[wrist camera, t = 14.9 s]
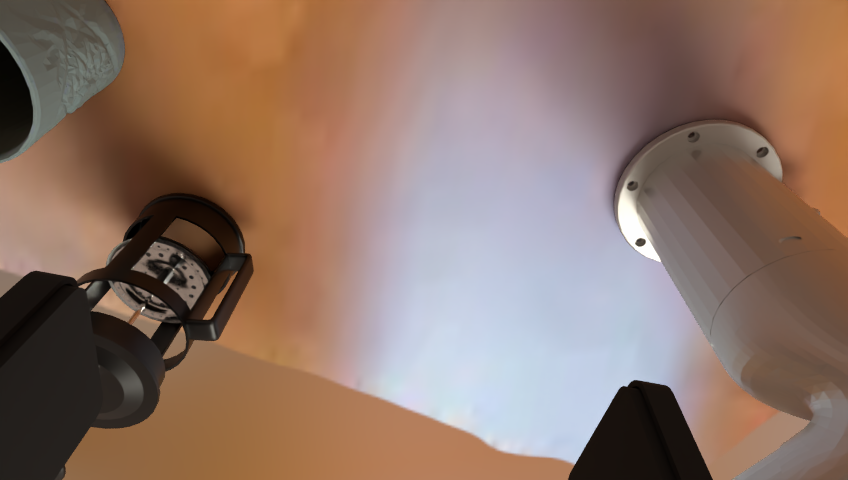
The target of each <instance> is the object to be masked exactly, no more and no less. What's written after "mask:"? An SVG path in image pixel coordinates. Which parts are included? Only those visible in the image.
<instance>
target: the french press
mask: <svg viewBox="0 0 848 480" xmlns="http://www.w3.org/2000/svg"><path fill="white" fill-rule="evenodd" d="M176 218H179V219H183V220H186V221H189V222H191V223H193V224H195V225H197V226H199V227H200V228H202V229H203V230H205V231H206V232H207V233H208V234H210V235H211V236H212V237H213V238H214V239H215V240H216V242H217V243H218V244H219V245H220V246H221V248H222V250H223V252H224V254H225V256H224V257H223V259H222V261H221V262H220V264H219V265H218V267H217V269H216V270H214V271H211V272H210V270H209V268H208V267H207V265H206V264H205V263H204V262H203V260H202V259H201V258H200V257H199V256H198V255H196V254H195V253H194V252H193V251H192V250H190V249H189V248H187V247H186V246H184V245H182V244H180V243H178V242H176V241H174V240H172V239H169V238H166V237H162V236H161V235H162V234H163V233H164V232H165V230H166V229H167V228H168V227H169V226H170V225H171V223H172V222H173V221H174V220H175V219H176ZM236 271H238V273H237V275H236V277H235V279H234V280H233V282H232V284H231V286H230V287H229V289H228V291H227V293H226V294H225V296H224V298H223V300H222V302H221V303H220V305H219V307H218V309H217V310H216V312H215V314H214V316H213V317H212V318H211V319H210V320H202V319H203V318H204V316H205V314H206V313H207V311H208V309H209V308H210V306H211V304H212V302H213V301H214V299H215V297H216V295H217V294H219V293H220V292H221V291H222V290H223V289H224V288H225V287H226V285H227V283H228V281H229V280H230V278H231V276H232V275H234V274H235V272H236ZM253 271H254V269H253V263H252V257H251V255H250V254H247V253H245V242H244V239H243V235H242V233H241V231H240V229H239V227H238V225H237V224H236V222H235V221H234V220H233V218H232V217H231V216H230V215H229V214H228V213H227V212H226V211H225V210H224V209H222V208H221V207H219V206H218V205H216V204H215V203H213V202H211V201H209V200H207V199H205V198H202V197H199V196H195V195H191V194H184V193H175V194H168V195H164V196H160V197H158V198H156V199H154V200H152V201H151V202H150V203H149V204H148V205H146V206H145V208H144V209H143V210H142V212H141V213H140V215H139V218H138V219H137V220H136V221H135V222H134V223H133V224H132V225H131V226H130V227H129V229H128V230H127V232H126V233H125V236H124V239H123V242H122V243H120V244H119V245H117V246H116V247H115V248H114V249H113V250H112V251H111V253H110V254H109V256H108V259H107V262H106V267H105V268H101V269H96V270H93V271H91V272H89V273H86V274H84V275H83V276H82V277H81V278H80V279H78V280H77V284H78V286H80V285H83V284H85V283H89V282H91V283H90V284H89V285H88V287H87V288H86V289H85V291H86V293H87V298H88V304H89V310H90V316H91V322H92V329H93V335H94V341H95V347H96V353H97V360H98V366H99V372H100V378H101V384H102V391H103V403H102V407H101V410H100V412H99V414H98V416H97V418H96V419H95V421H94V422H93V424H92V425H91V427H97V428H105V429H106V428H124V427H130V426H132V425H135V424H138V423H140V422H142V421H144V420H145V419H147V418H148V417H149V416H150V415H151V414H152V413H153V412H154V410H155V408H156V406H157V404H158V402H159V396H160V389H159V388H160V386H161V384H162V382H163V380H164V378H165V372H166V371H168V370H171V369H172V368H174V367H176V366H177V365H178V364H179V363H180V362H181V361H182V360H183V359H184V358H185V356H186V354H187V353H188V351H189V349H190V347H191V345H192V344H193V341H194V340H204V341H216V340H218V339H219V337H220V335H221V334H222V332H223V330H224V328H225V326H226V324H227V322H228V320H229V318H230V316H231V314H232V312H233V311H234V309H235V307H236V305H237V303H238V301H239V299H240V297H241V295H242V293H243V291H244V290H245V288H246V286H247V284H248V282H249V280H250V278H251V276H252V274H253ZM110 288H112V289H113V291H114V292H115V293H116V295H117V296H118V297H119V298H120V299H121V300H122V301H123V302H124V303H125V304H126V305H127V306H129V307H130V308H131V309H132V310H134V311H135V313H134V314H133V315H132V316H131V318H130V319H129V321H128V322H125V321H123V320H120V319H119V318H116V317H114V316H111V315H107V314H104V313H100V312H93V311H91V310H92V309H93V308H94V307H95V305H96V304H97V303H98V302H99V301H100V300H101V299H102V297H103V296H104V295H105V294H106V293H107V292H108V291H109V289H110ZM140 314H141V315H143V316H146V317H148V318H150V319H154V320H157V321H161V322H162V323H161V324H160V326H159V327H158V329H157V330H156V332H155V333H154V335H153V336H152V338H151V339H149V338H148V337H147V336H146V335H145V334H144V333H143V332H141V331H140V330H139V329H137V328H136V327H134V326H132V324H133V323H134V321H135V320H136V319H137V317H138V316H139V315H140ZM182 326H183V328H184V331H185V335H186V349H185V350H184V351H183V352H181V353H180V354H178V355H177V356H174V357H171V358H169V359H164V360H163V358H162V357H163V355H164V354H165V352H166V351H167V349H168V348H169V346H170V344H171V343H172V341H173V340H174V338H175V336H176V334H177V333H178V332H179V330H180V328H181V327H182ZM65 472H66V471H65V465H64V466H63V468H62V469H61V471H60V472H59V474H58V475H57V477H56V478H55V480H62V479H63V478H64V476H65Z"/></svg>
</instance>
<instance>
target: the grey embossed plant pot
mask: <svg viewBox="0 0 848 480" xmlns="http://www.w3.org/2000/svg"><path fill="white" fill-rule="evenodd" d="M124 55H125V44H124V39H123V34H122V31H121V28H120V25H119V23H118V21H117V18H116V17H115V15H114V13H113V12H112V10H111V9H110V7H109V6H108V4H107V3H106V2H105V1H104V0H0V163H2V162H5V161H9V160H11V159H13V158H15V157H17V156H19V155H20V154H22V153H23V152H25V151H26V150H27V149H28V148H29V147H30V146H32V145H33V144H34V143H35V142H36V141H38V140H39V139H40V138H41V137H42V136H43V135H44V134H45V133H47V132H48V131H50V130H51V129H52V128H53V127H55V126H56V125H57V123H58V122H60V121H61V120H62V119H63V118H64V117H65V115H66V114H67V113H73V112H74V111H75V110H76V109H77V108H79V107H81V106H82V105H83V104H84V102H86V101H87V100H89V99H90V98H91V97H92V96H94V95H95V94H97V93H98V92H100V91H101V90H103V89H104V88H105V87H107V86H108V85H109V84H110V83H112V82H113V80H114V79H115V78H116V77H117V75H118V74H119V72H120V70H121V68H122V65H123V62H124Z"/></svg>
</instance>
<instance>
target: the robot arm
mask: <svg viewBox="0 0 848 480" xmlns="http://www.w3.org/2000/svg"><path fill="white" fill-rule="evenodd" d="M690 133H692V134H691V135H689V134H690ZM688 135H689V136H688ZM631 181H632V182H631ZM629 182H631V183H629ZM614 212H615V218H616V222H617V224H618V227H619V229H620V231H621V233H622V235H623V236H624V238H625V240H626V241H627V242H628V243H629V245H630V246H631V247H632V248H633V249H634V250H636V251H637V252H639V253H640V254H642V255H643V256H645V257H648V258H650V259H653V260H655V261H658V262H662V264H663V266H664V267H665V269H666V271H667V272H668V274H669V276H670V277H671V279H672V281H673V282H674V284H675V286H676V288H677V289H678V291H679V293H680V294H681V296H682V298H683V299H684V301H685V303H686V304H687V306H688V308H689V310H690V311H691V313H692V315H693V316H694V318H695V320H696V321H697V323H698V325H699V326H700V328H701V330H702V331H703V333H704V335H705V337H706V338H707V340H708V342H709V343H710V345H711V347H712V348H713V350H714V352H715V353H716V355H717V357H718V358H719V360H720V362H721V363H722V365H723V367H724V368H725V370H726V371H727V372H728V374H729V375H730V376H731V378H732V379H733V380H734V381H735V382H736V383H737V384H738V385H739V386H740V387H741V388H742V389H743V390H744V391H746V392H747V393H748V394H750V395H751V396H752V397H754V398H755V399H757V400H758V401H760V402H762V403H764V404H766V405H768V406H770V407H772V408H774V409H777V410H779V411H782V412H785V413H788V414H790V415H793V416H796V417H799V418H802V419H805V420H809V421H810V422H809V424H808V425H807V426H806V427H805V428H804V429H803V430H801V431H800V432H798V433H797V434H796V435H794V436H793V437H792V438H790V439H789V440H787V441H786V442H784V443H783V444H782V445H781V447H780V448H779V449H777V450H776V451H774V452H773V453H771V454H770V455H768V456H767V457H765V458H764V459H762V460H761V461H759V462H758V463H756V464H755V465H753V466H751V467H750V468H748V469H747V470H745V471H744V472H742V473H741V474H739V475H738V476H736V477H735V478H733V479H732V480H848V238H847V237H846V236H844V235H843V234H842V233H841V232H840V231H838V230H837V229H836V228H835V227H834V226H833V225H831V224H830V223H829V222H828V221H827V220H825V219H824V218H823V217H822V216H821V215H820V211H819V210H818V209H816V208H812V207H810V206H809V205H808V204H806V203H805V202H804V201H803V200H802V199H801V198H799V197H798V196H797V195H796V194H795V193H793V192H792V191H791V190H790V189H789V188H787V187H786V186H785V185H784V184H783V170H782V165H781V161H780V158H779V156H778V154H777V152H776V150H775V149H774V147H773V146H772V145H771V144H770V143H769V142H768V141H767V140H766V138H765V137H763V136H762V135H760V134H759V133H758V132H756V131H755V130H754V129H751V128H749V127H747V126H745V125H743V124H741V123H737V122H732V121H728V120H703V121H696V122H691V123H688V124H685V125H682V126H679V127H676V128H674V129H672V130H670V131H668V132H666V133H664V134H662V135H660V136H658V137H657V138H656V139H654V140H653V141H651V142H650V143H649V144H647V145H646V146H645V147H644V148H643V149H642V150H641V151H640V152H639V153H638V154H637V155H636V156H635V157H634V158H633V159H632V161H631V162H630V163H629V165H628V166H627V167H626V169H625V170H624V172H623V174H622V176H621V178H620V180H619V182H618V186H617V189H616V193H615V199H614ZM102 403H103V391H102V384H101V378H100V372H99V366H98V360H97V353H96V347H95V341H94V335H93V329H92V322H91V316H90V310H89V304H88V298H87V293H86V291H85V290H84V289H83V288H79V287H78V284H77V281H76V280H75V279H74V278H72V277H68V276H62V275H57V274H51V273H46V272H40V271H33V272H30V273H29V274H27V275H26V276H24V277H23V278H22V279H21V280H20V281H19V282H18V283H16V284H15V285H14V286H13V287H12V288H11V289H10V290H9V291H7V292H6V293H5V294H4V295H3V296H2V297H1V298H0V480H55V478H56V477H57V475H58V474H59V472H60V471H61V469H62V468H63V466H64V465H65V463H66V462H67V460H68V459H69V458H70V456H71V455H72V453H73V452H74V450H75V449H76V447H77V446H78V444H79V443H80V441H81V440H82V438H83V437H84V436H85V434H86V433H87V431H88V430H89V428H90V427H91V425H92V424H93V422H94V421H95V419H96V418H97V416H98V414H99V412H100V410H101V407H102ZM568 480H713V479H712V477H711V475H710V473H709V470H708V468H707V466H706V464H705V462H704V459H703V457H702V455H701V453H700V451H699V449H698V446H697V444H696V442H695V440H694V438H693V435H692V433H691V431H690V429H689V427H688V424H687V422H686V420H685V418H684V416H683V414H682V411H681V409H680V407H679V405H678V403H677V400H676V398H675V396H674V394H673V392H672V391H671V389H670V388H669V387H668V386H666V385H660V384H655V383H649V382H644V381H638V380H634V381H632V382H631V383H630V384H629V385H628V387H626V386H623V387H621V388H620V389H619V390H618V392H617V393H616V395H615V397H614V399H613V400H612V402H611V404H610V406H609V407H608V409H607V411H606V412H605V414H604V416H603V418H602V419H601V421H600V423H599V424H598V426H597V428H596V430H595V431H594V433H593V435H592V436H591V438H590V440H589V442H588V443H587V445H586V447H585V448H584V450H583V452H582V454H581V455H580V457H579V459H578V461H577V462H576V464H575V466H574V467H573V469H572V471H571V473H570V475H569V478H568Z"/></svg>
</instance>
